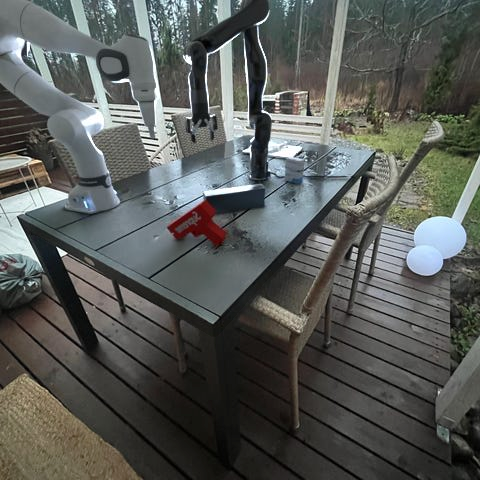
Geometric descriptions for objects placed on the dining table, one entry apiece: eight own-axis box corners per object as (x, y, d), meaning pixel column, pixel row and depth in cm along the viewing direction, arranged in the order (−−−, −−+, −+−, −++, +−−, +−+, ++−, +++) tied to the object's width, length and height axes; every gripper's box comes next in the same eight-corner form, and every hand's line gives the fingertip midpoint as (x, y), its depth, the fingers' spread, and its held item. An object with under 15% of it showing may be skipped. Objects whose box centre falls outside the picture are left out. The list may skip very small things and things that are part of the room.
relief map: (291, 159, 177) (291, 151, 174) (243, 153, 190) (243, 145, 187) (302, 149, 197) (303, 142, 194) (258, 144, 211) (258, 137, 208)
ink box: (302, 181, 142) (305, 159, 136) (297, 184, 139) (300, 161, 133) (289, 177, 147) (291, 156, 141) (284, 180, 144) (285, 158, 138)
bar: (259, 201, 122) (260, 183, 117) (264, 206, 118) (265, 188, 113) (204, 210, 115) (202, 191, 111) (207, 215, 111) (205, 196, 106)
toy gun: (233, 234, 92) (206, 198, 88) (229, 240, 88) (200, 203, 84) (198, 253, 102) (172, 221, 98) (193, 259, 98) (166, 227, 94)
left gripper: (137, 91, 101) (144, 130, 108) (134, 96, 84) (143, 142, 92) (154, 90, 102) (160, 129, 110) (155, 95, 86) (162, 140, 93)
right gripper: (186, 103, 107) (191, 145, 116) (218, 100, 113) (221, 140, 122) (180, 101, 113) (185, 142, 121) (210, 99, 119) (213, 137, 127)
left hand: (152, 135), depth 101 cm, fingers open, 8 cm apart
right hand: (203, 141), depth 122 cm, fingers open, 8 cm apart
